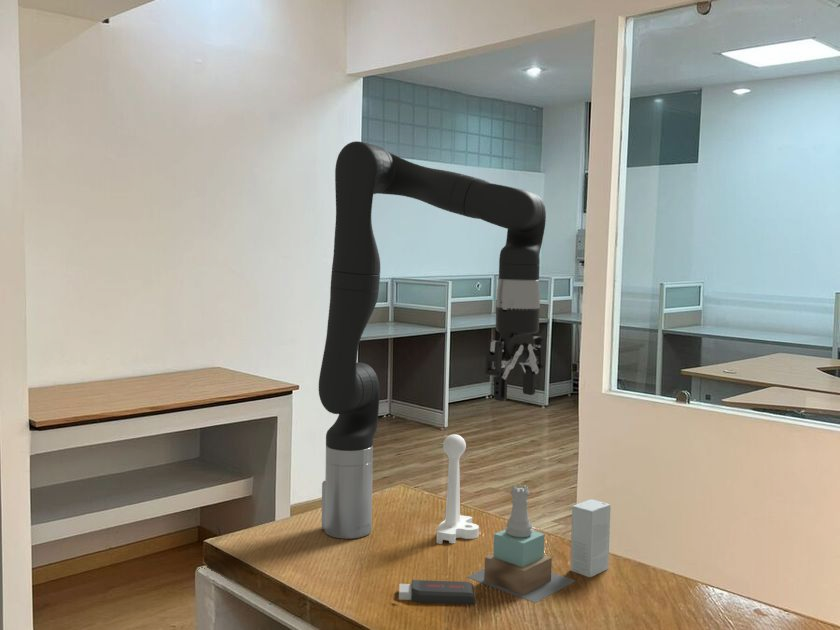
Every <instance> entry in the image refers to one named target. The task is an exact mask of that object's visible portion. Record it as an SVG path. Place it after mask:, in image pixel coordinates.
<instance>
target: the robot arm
mask: <svg viewBox="0 0 840 630" xmlns="http://www.w3.org/2000/svg"><path fill="white" fill-rule="evenodd" d="M334 169H335V171H334V179H335V180H334V181H335V182H334V184H335V185H334V186H335V189H334V190H335V224H334V225H335V227H334V239H333V240H334V241H333V242H334V243H333V257H332V265H331V276H330V277H331V278H330V290H329V291H330V292H329V293H330V296H329V307H328V308H329V310H328V317H327V326H326V328H327V329H326V337H325V345H324V349H323V355H322V360H321V367H320V371H319V378H318V395H319V399H320V402H321V404H322V406H323V407H324V409H325V410H326V411H327V412H329V413H331V414H333V415H337V419H336V420H335V421H334V423H333V425H331V426H330V428H329V429H327V431H326V434H325V477H324V478H325V479H324V480H323V481H322V483H321V529H322V530H323V531H324V533H325V534H326V535H328V536H329V537H332V538H338V539H346V540H347V539H359V538H362V537H365V536H369V534H370V533H371V532H372V520H373V519H372V518H373V517H372V515H373V514H372V513H373V470H374V469H373V468H374V467H373V463H374V462H373V461H374V460H373V457H374V446H373V445H374V437H375V435H376V432H377V429H378V426H379V411H380V410H379V408H380V383H379V379H378V375H377V373H376V372H375V370H374V369H373V367H371V366H370V365H369V364H367V363H364V362H358V353H359V352H358V351H359V345H360V342H361V339H362V336H363V333H364V331H365V329H366V327H367V325H368V323H369V321H370V319H371V317H372V314H373V312H374V310H375V308H376V305H377V302H378V297H379V292H380V282H381V281H380V280H381V260H380V259H381V257H380V253H379V250H378V245H377V241H376V237H375V234H374V229H373V224H372V209H373V198H374V195H377V194H379V195H380V194H382V195H391V196H394V195H395V196H402V197H407V198H411V199H414V200H418V201H420V202H424V203H426V204H428V205H430V206H433V207H435V208H438V209H440V210H443V211H446V212H450V213H452V214H457V215H460V216H464V217H468V218H472V219H477V220H482V221H484V222H487V223H489V224H492V225H495V226H497V227H501V228H503V229H507V231H506V242H505V245H504V247H502V248H501V250H500V253H499V258H498V259H499V261H498V281H497V282H498V283H497V287H496V303H495V304H496V307H495V309H496V310H495V330H496V331H497V332H498V333H499V334H500V337H499V340H488V341H487V343H486V358H485V359H486V360H485V371H484V372H485V375H486V376H490V377H492V378H493V398H494V400H495V401H501V402H504V401H506V400H507V399H508V398H507V396H508V375H509V374H510V372H511V370H512V369H514V368H515V365H521V368H522V370H523V372H524V373H523V378H522V393H523V394H524V395H526V396H528V395H529V396H533V395H535V394H536V387H537V385H536V384H537V375H538V374H539V371H540V370H544V369H545V338H544V337H543V336H539V335H538V336H537V335H535V334H538V333H539V331H540V307H541V306H540V305H541V303H540V301H541V290H540V288H541V287H540V264H541V262H540V261H541V259H540V254H541V253H540V252H541V248H542V244H543V239H544V234H545V230H546V229H545V228H546V221H547V219H546V217H547V213H546V207H545V203H544V201H543V199H542V198H541V197H540V196H539V195H538V194H536V193H534V192H533V191H528V190H524V189H521V188H516V187H512V186H507V185H503V184H497V183H491V182H489V181H487V180H485V179H482V178H479V177H475V176H470V175H467V174H464V173H459V172H455V171H449V170H444V169H438V168H432V167H427V166H424V165H419V164H418V163H415V162H411V161H409V160H406V159H404V158H402V157H399V156H398V155H396V154H394V153H392V152H389V151H388V150H386V149H384V148H383V147H381V146H378V145H376V144H371V143H368V142H363V141H352V142H349V143H346V145H344V146H343V148H342V149H341V150H340V152H339V153H338V155H337V158H336V163H335V168H334ZM537 357H538V359H537ZM493 362H494V368H493Z"/></svg>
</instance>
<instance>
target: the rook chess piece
mask: <svg viewBox="0 0 840 630" xmlns="http://www.w3.org/2000/svg"><path fill="white" fill-rule="evenodd" d="M509 493H510V494H511V496H512V500H511V503H512V507H511V514H510V517H509V518H508V521H507V522H506V524H505V526H506V527H507V528H505V529H506V532H507V534H508V535H509V536H511V537H515V538H527V537H529V536H530V535H531V534H532V531H533V530H532V528H533V525H532V522H530V519H529V514H528V503H529V501H528V497H529V496H530V494H531V493H530V491H529V487H528V486H527V485H522V484H518V485H513V486H512V489H511V491H510V492H509Z"/></svg>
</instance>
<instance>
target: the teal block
mask: <svg viewBox="0 0 840 630" xmlns="http://www.w3.org/2000/svg"><path fill="white" fill-rule="evenodd" d="M506 529H507V528H505V529H503V530H501V531H498V532H495V533H494V534H493V553H492V554H493V557H494V558H497V559H500V560H503V561H506V562H509V563H512V564H514V565H517V566H520V567H525V566H527V565H529V564H531V563H533V562H535V561H537V560H539V559H542V558H544V555H545V534H544V533H541V532H538V531H534V530H532V534H531V535H530V536H529V537H527V538H515V537H511V536H509V535H508V534H507V532H506Z"/></svg>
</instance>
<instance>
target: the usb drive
mask: <svg viewBox="0 0 840 630" xmlns="http://www.w3.org/2000/svg"><path fill="white" fill-rule="evenodd" d="M475 596H476V595H475V589H474V584H473V583H472V582H470V581H456V580H455V581H451V580H450V581H449V580H427V579H426V580H424V579H423V580H421V579H412V581H411V583H399V588H398V600H399V601H405V600H407V601H411V602H415V603H418V604H447V605H449V604H452V605H455V604H456V605H476V600H475V599H476V597H475Z"/></svg>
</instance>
